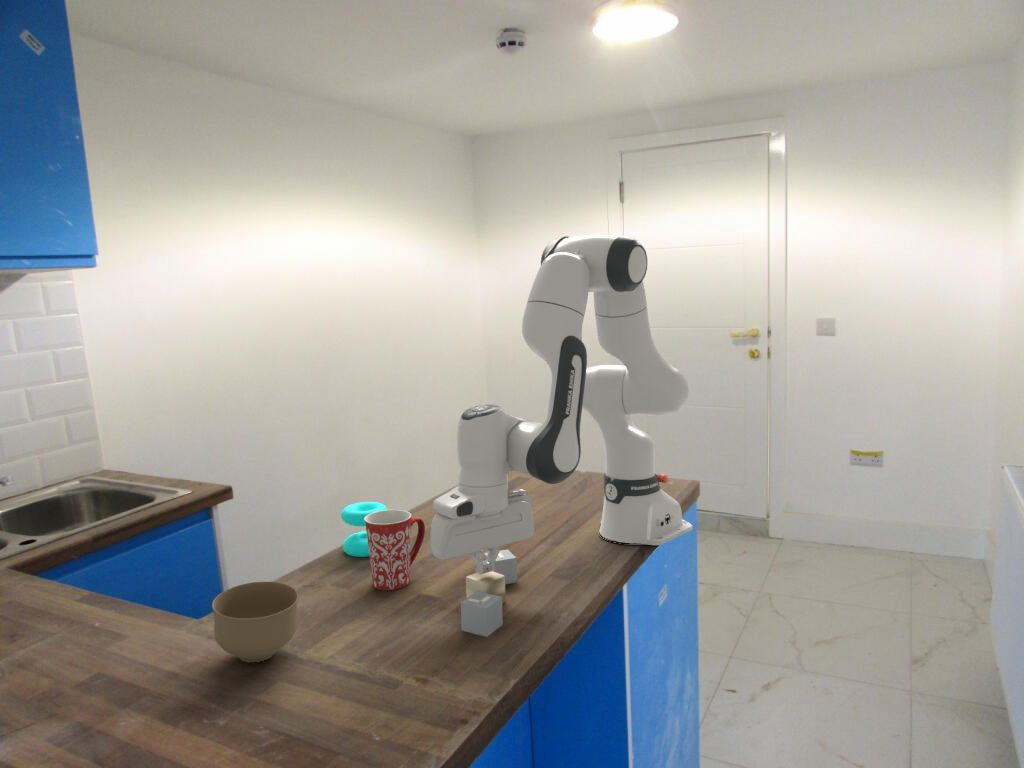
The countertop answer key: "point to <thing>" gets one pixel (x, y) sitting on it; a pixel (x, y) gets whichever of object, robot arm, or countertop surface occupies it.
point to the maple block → (486, 584)
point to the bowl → (255, 619)
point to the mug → (392, 547)
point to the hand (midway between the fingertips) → (485, 572)
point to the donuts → (355, 517)
